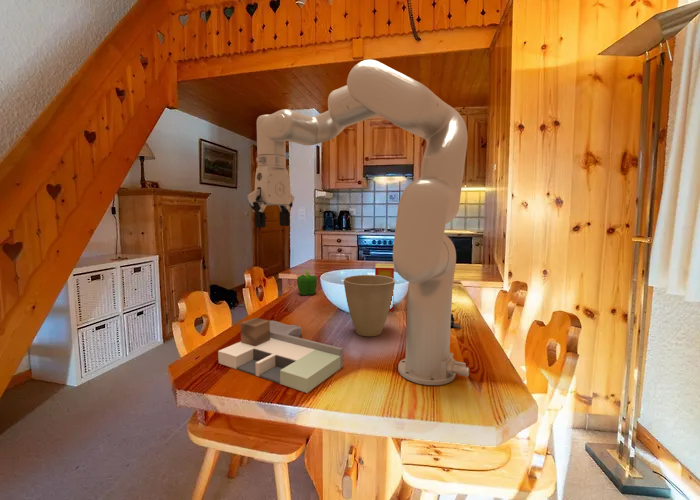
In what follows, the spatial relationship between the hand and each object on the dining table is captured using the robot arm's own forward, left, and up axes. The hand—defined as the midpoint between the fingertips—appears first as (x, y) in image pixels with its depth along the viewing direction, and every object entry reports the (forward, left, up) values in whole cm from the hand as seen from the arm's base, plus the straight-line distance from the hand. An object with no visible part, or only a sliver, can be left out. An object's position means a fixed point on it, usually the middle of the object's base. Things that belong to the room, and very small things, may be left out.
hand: (273, 226), depth 98 cm
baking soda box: (-15, -42, -31) cm, 55 cm away
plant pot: (-22, -16, -31) cm, 42 cm away
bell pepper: (+21, -43, -31) cm, 57 cm away
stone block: (-2, 0, -32) cm, 32 cm away
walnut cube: (-4, +12, -28) cm, 31 cm away
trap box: (-14, +14, -31) cm, 37 cm away
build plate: (-40, -34, -32) cm, 61 cm away
